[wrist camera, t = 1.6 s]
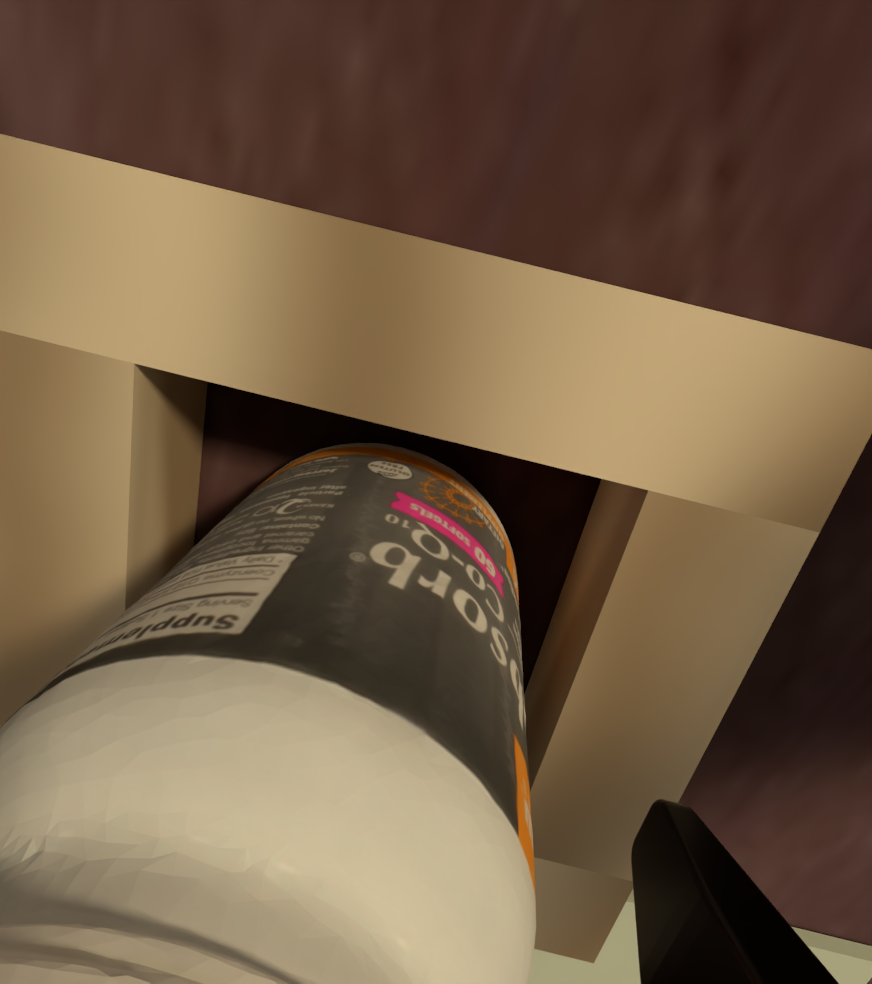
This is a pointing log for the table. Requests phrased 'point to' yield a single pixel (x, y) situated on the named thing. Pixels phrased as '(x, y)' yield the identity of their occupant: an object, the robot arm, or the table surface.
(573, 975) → the mat
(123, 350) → the pocket holder
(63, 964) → the pill bottle
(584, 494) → the table surface
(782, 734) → the table surface
